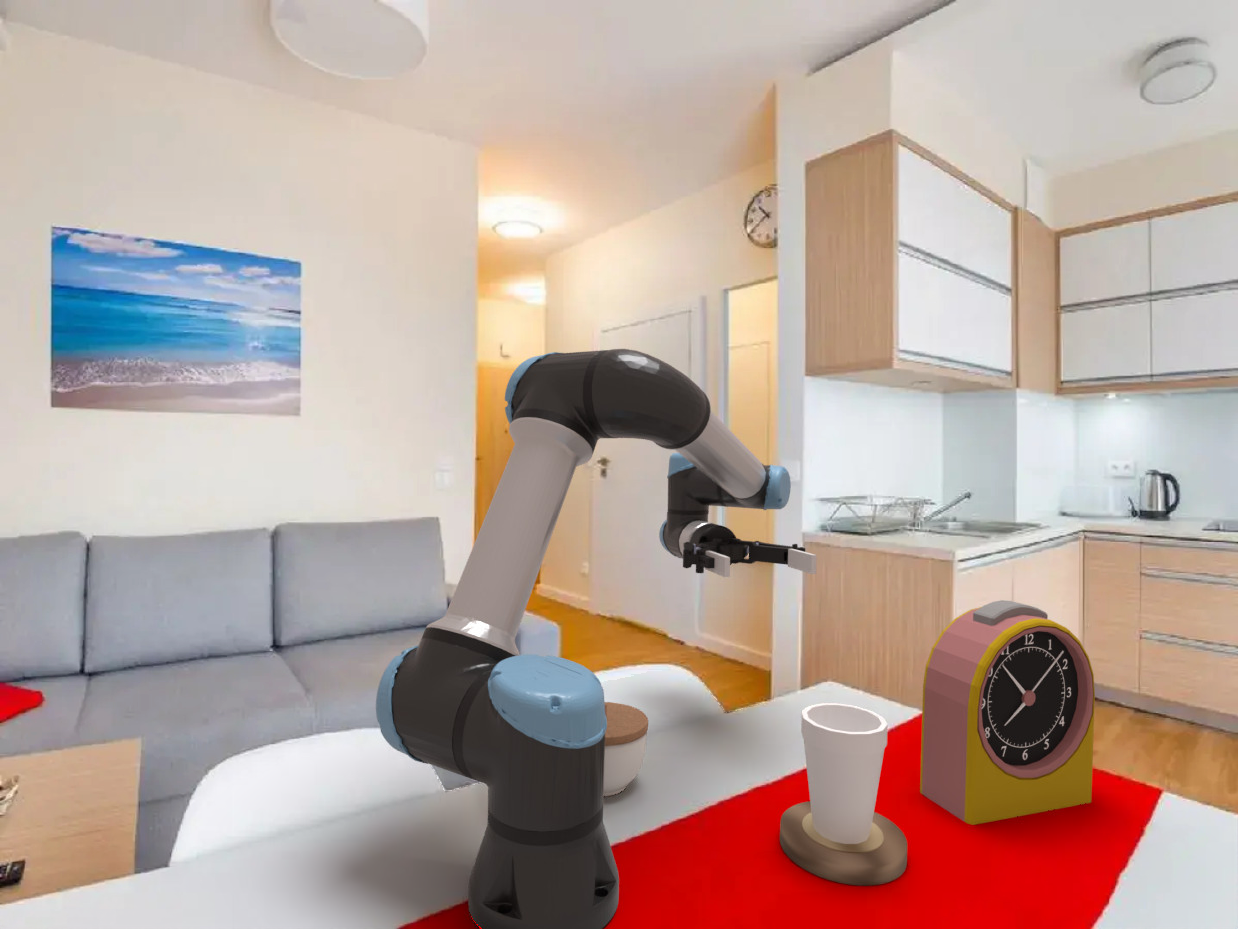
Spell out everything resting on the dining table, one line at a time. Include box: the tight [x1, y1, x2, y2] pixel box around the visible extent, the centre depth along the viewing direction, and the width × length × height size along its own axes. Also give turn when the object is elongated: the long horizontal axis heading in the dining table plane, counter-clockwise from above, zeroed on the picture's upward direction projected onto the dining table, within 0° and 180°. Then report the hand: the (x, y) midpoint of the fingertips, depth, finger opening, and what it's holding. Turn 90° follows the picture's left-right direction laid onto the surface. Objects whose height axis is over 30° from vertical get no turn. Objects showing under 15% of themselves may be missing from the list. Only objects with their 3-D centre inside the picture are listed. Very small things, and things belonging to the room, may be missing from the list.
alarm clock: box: [919, 599, 1096, 826], centre depth 93 cm, size 21×9×26 cm, turn 108°
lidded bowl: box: [603, 701, 649, 798], centre depth 95 cm, size 13×13×11 cm
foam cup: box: [800, 702, 889, 844], centre depth 80 cm, size 10×9×13 cm
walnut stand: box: [779, 801, 908, 886], centre depth 80 cm, size 14×14×2 cm
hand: (771, 565), depth 97 cm, fingers open, 13 cm apart
